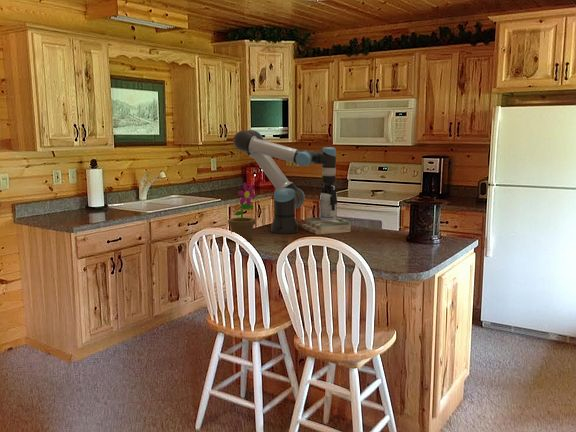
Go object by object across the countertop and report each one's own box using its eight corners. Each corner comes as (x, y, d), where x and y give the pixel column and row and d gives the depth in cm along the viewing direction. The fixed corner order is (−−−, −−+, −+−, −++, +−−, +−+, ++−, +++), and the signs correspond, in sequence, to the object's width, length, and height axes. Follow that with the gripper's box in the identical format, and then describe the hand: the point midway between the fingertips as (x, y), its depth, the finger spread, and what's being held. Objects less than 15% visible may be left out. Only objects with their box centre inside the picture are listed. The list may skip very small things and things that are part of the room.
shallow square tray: (301, 227, 313) (301, 218, 312) (334, 225, 321) (334, 216, 320) (316, 234, 295) (316, 224, 294) (350, 231, 302) (350, 222, 301)
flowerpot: (241, 243, 272) (240, 183, 267) (222, 239, 282) (221, 181, 277) (261, 239, 282) (261, 181, 278) (243, 235, 292) (242, 179, 287)
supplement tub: (327, 217, 314) (327, 192, 312) (340, 219, 308) (340, 193, 305) (316, 219, 307) (316, 193, 305) (329, 221, 301) (329, 195, 298)
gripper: (314, 173, 312) (314, 212, 316) (331, 177, 292) (330, 218, 295) (326, 173, 315) (325, 211, 319) (344, 176, 294) (343, 217, 298)
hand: (328, 214), depth 307 cm, fingers closed on supplement tub, 9 cm apart
